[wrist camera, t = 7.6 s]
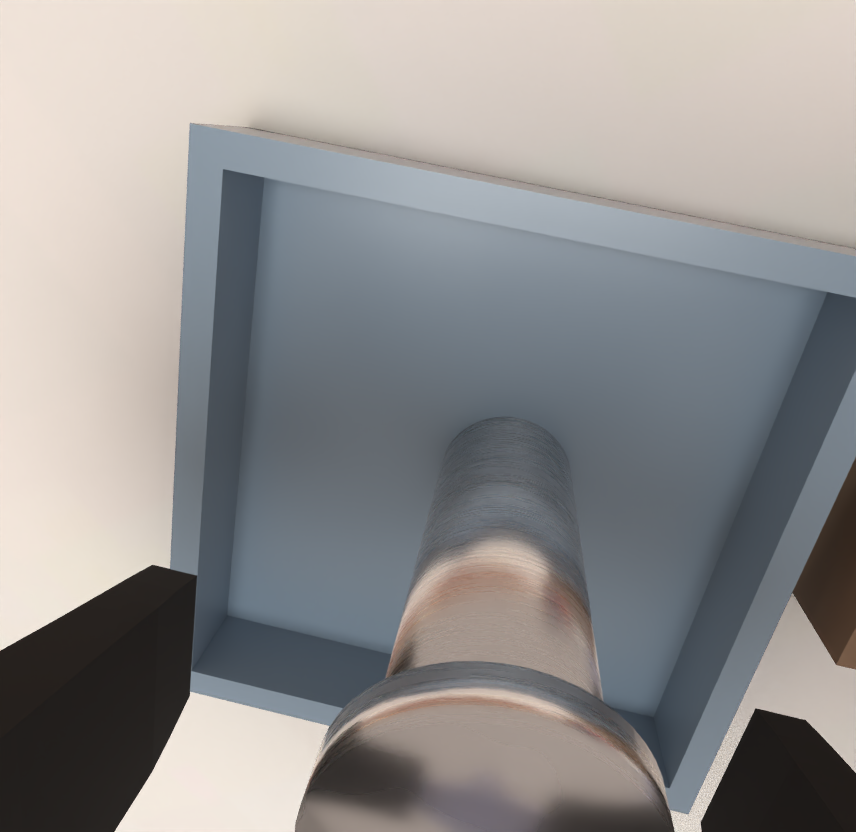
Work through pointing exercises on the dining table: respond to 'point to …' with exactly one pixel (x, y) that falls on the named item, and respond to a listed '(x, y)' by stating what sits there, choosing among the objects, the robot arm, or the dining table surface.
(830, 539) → the pin block
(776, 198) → the dining table surface
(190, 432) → the tray
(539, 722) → the lock pin
